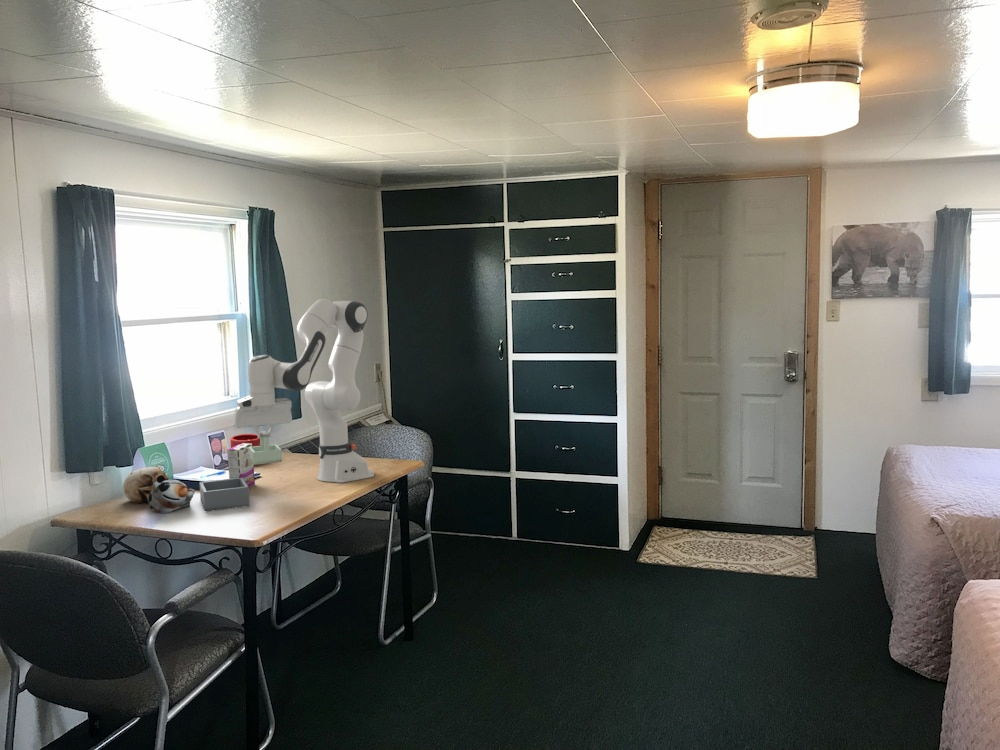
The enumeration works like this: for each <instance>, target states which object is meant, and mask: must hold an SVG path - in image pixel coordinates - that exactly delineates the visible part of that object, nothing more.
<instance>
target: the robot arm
mask: <svg viewBox="0 0 1000 750" xmlns="http://www.w3.org/2000/svg"><path fill="white" fill-rule="evenodd" d="M367 309H368V308H367V307H366V305H365V304H364V303H361V302H359V301H355V300H354V301H352V300H336V301H332V300H330V299H327V298H319V299H317V300H316V301H315V302H314V303H313V304H311V306H309V308H308V309H307V310H306V312H304V314H303V315H302V316H301V318H300V319H299V321H298V323H297V326H296V332H297V336H298V337H299V338H300V340H301V341H302V342H303V343H304V344H306V346H305V348H304V351H303V352H302V354H301V356H300V358H299V359H298V360H297V361H294V362H281V361H279V360H276V359H275V358H273V357H272V356H271V355H270V354H259V355H254V356H252V357H251V358H250V359H249V361H248V365H247V366H248V367H247V369H248V376H247V377H248V383H249V390H248V391H249V392H248V395H247V396H244V397H241V398H239V399H237V400H236V405H237V406H236V407H235V409H234V417H233V419H234V420H233V425H234V426H235V427H236V428H238V429H240V428H250V427H253V429H254V431H255V432H256V434H257V435H258V438H262V432H260V431H259V430H260V429H259V427H261V426H268V431H265V432H266V433H267V434H268V437H269V438H271V437H272V431H273V429H274V427H275V426H274V425H283V424H291V423H292V421H293V416H292V407H293V406H292V404H293V403H292V400H291V399H289V398H287V397H283V398H275V397H276V394H275V388H277V389H285V390H290V391H294V392H299V391H302V390H304V389H305V390H304V398H305V401H306V402H307V404H308V405H309V406H310V407H311V408H312V410H313V413H314V414H315V416H316V420H317V423H318V431H319V443H318V455H319V467H318V468H319V469H318V473H317V481H318V480H319V481H321V482H331V483H339V484H341V483H346V482H353V481H358V480H365V479H371V478H373V477H375V472H374V471H373V470H371V469H370V468H369V466H368V462H367V460H366V459H365V458H364V457H362V455H360V454H359V453H357V452H355V451H354V450H356V449H357V445H356V444H355V443H351V442H350V441H349V437H348V436H349V432H348V423H347V421H346V420H345V419H344V418H343V417H342V416H341V413H340V411H350V410H351V411H352V410H355V409H356V408H357V407H358V406H359V404H360V403H361V402H360V401H361V392H360V390H359V388H358V387H357V385H356V384H357V383H356V379H355V378H356V375H355V374H356V370H357V365H358V362H359V359H360V355H361V353H362V348H363V343H364V331H363V329H364V327H365V326H366V323H367V321H368V317H369V315H368V310H367ZM331 328H334V329H337V336H336V339H335V341H334V344H333V347H332V350H331V354H330V356H329V359H328V362H327V363H328V365H327V366H328V369H329V370H330V371H331V372H332V379H331V381H325V380H318V381H313V382H310V380H311V377H312V373H313V371H314V369H315V367H316V364H317V362H318V360H319V358H320V357H321V354H322V352H323V350H324V348H325V345H326V335H327V334H328V332H329V330H330V329H331Z"/></svg>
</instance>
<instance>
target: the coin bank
mask: <svg viewBox="0 0 1000 750" xmlns="http://www.w3.org/2000/svg"><path fill="white" fill-rule="evenodd" d="M165 480H171V479H170V478H169V477H168V476H167V474H166V472H165V471H163V470H162V469H160V468H159V467H158V466H148V467H142V468H139V469H136V470H134V471H131V472H130V473H129V474H128V475H127V476H126V478H125V479H124V482H123V494H124V496H125V497H126V498H127V499H128V500H129V501H131V502H134V503H137V504H139V503H140V504H141V503H142V504H143V503H148V504H149V502H148V497H149V494H150V493H151V491H152V490H153V484H154V483H155V482H158V483H161V482H163V481H165Z"/></svg>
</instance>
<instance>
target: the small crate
mask: <svg viewBox="0 0 1000 750" xmlns="http://www.w3.org/2000/svg"><path fill="white" fill-rule="evenodd" d="M259 432H262V438H260V446H255V447H249V459H250V461H251V462H252V463H253V465H254V466H255V465H263V464H265V465H266V464H271V463H272V464H273V463H281V462H283V456H282V455H283V454H282V449H281V448H280V446H278V444H276V443H275V444H270V437H268V434H267V433H266V432H267V431H265V430H260V431H259Z"/></svg>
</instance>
